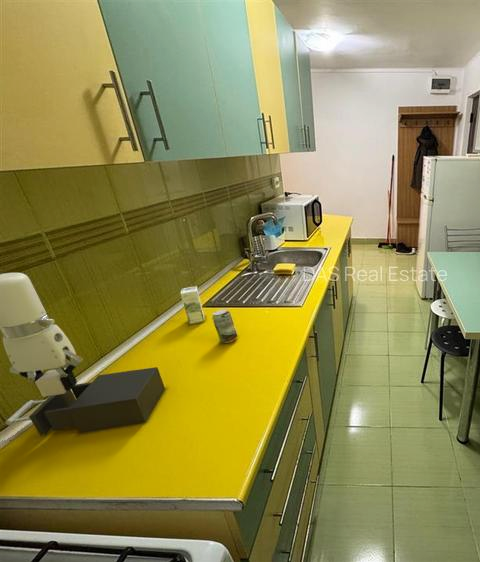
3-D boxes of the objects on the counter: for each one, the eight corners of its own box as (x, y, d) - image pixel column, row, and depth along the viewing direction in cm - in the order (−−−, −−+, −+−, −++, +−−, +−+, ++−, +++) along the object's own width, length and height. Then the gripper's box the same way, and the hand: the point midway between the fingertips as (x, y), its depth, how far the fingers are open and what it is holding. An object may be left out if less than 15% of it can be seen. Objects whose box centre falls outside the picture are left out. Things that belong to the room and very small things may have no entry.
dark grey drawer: (4, 441, 73) (-9, 422, 70) (40, 406, 83) (30, 388, 81) (103, 425, 77) (94, 406, 74) (127, 393, 87) (119, 376, 85)
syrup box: (204, 315, 131) (196, 285, 126) (204, 322, 127) (196, 290, 121) (189, 319, 129) (180, 288, 123) (189, 325, 124) (180, 293, 119)
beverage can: (229, 346, 110) (222, 317, 105) (213, 342, 112) (206, 314, 108) (242, 337, 115) (236, 309, 111) (226, 333, 118) (220, 306, 113)
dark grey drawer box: (79, 433, 76) (66, 409, 73) (108, 397, 87) (98, 375, 84) (145, 422, 79) (135, 398, 75) (165, 389, 90) (157, 366, 87)
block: (42, 396, 74) (34, 382, 72) (56, 384, 78) (48, 370, 77) (64, 393, 75) (56, 379, 73) (76, 381, 79) (69, 367, 77)
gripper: (80, 314, 75) (106, 373, 82) (-4, 322, 71) (31, 384, 78) (58, 329, 68) (89, 393, 75) (-36, 340, 64) (6, 405, 72)
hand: (59, 387), depth 77 cm, fingers closed on block, 4 cm apart
